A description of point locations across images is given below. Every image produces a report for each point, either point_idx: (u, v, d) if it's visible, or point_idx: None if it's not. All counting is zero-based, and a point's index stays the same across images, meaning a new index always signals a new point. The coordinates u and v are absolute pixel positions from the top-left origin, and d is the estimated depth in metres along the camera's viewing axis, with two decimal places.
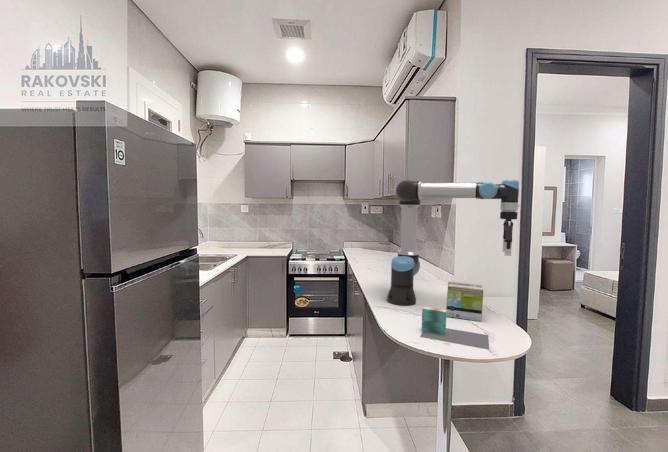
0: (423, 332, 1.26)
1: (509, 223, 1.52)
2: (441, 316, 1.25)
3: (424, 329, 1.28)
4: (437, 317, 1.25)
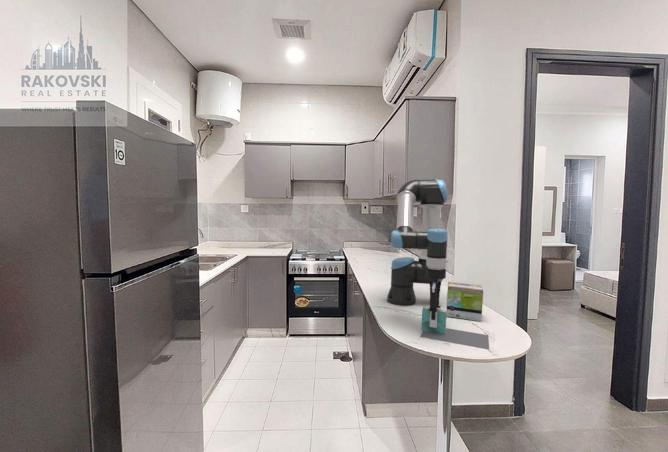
0: (423, 332, 1.26)
1: (433, 290, 1.21)
2: (441, 316, 1.25)
3: (424, 329, 1.28)
4: (437, 317, 1.25)
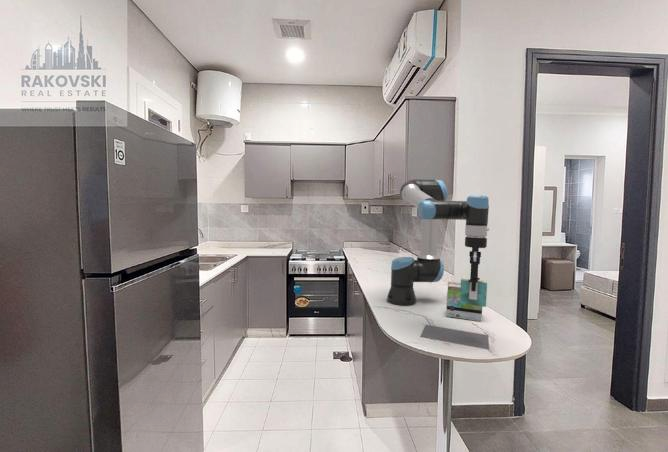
0: (423, 332, 1.26)
1: (474, 259, 1.14)
2: (482, 287, 1.18)
3: (463, 302, 1.21)
4: None
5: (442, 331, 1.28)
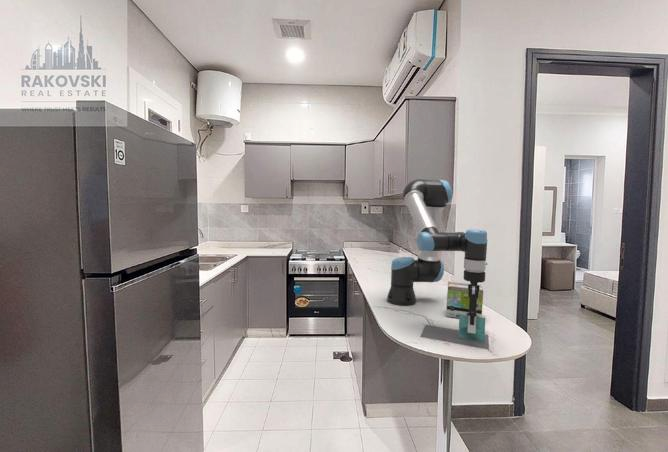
0: (423, 332, 1.26)
1: (473, 291, 1.15)
2: (480, 322, 1.19)
3: (462, 336, 1.22)
4: (476, 323, 1.20)
5: (442, 331, 1.28)
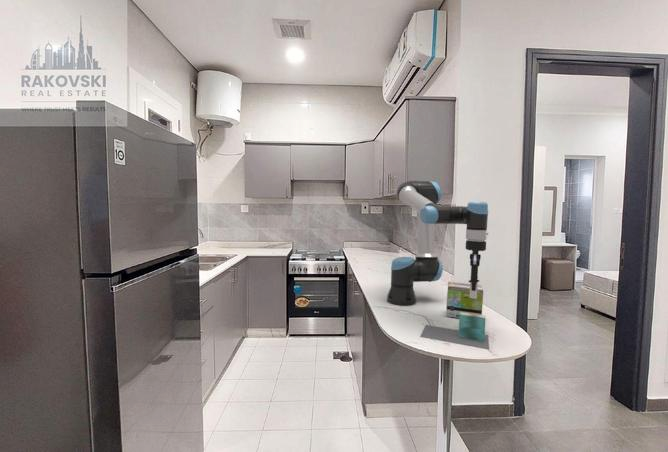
0: (423, 332, 1.26)
1: (474, 262, 1.23)
2: (480, 322, 1.19)
3: (462, 336, 1.22)
4: (476, 323, 1.20)
5: (442, 331, 1.28)
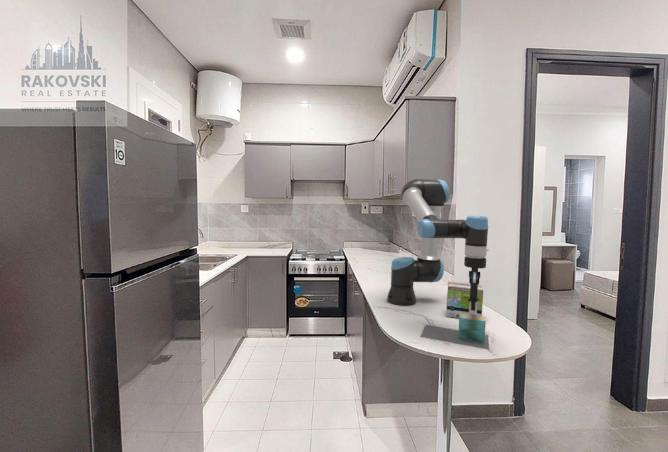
0: (423, 332, 1.26)
1: (474, 281, 1.15)
2: (480, 325, 1.17)
3: (462, 336, 1.22)
4: (476, 326, 1.18)
5: (442, 331, 1.28)
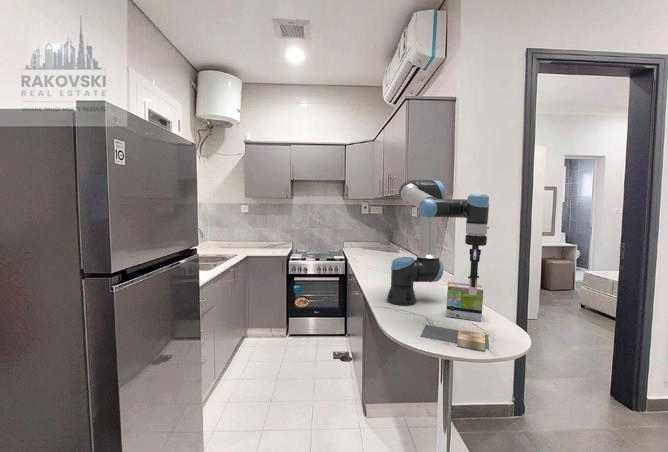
0: (423, 332, 1.26)
1: (474, 258, 1.17)
2: None
3: None
4: None
5: (442, 331, 1.28)
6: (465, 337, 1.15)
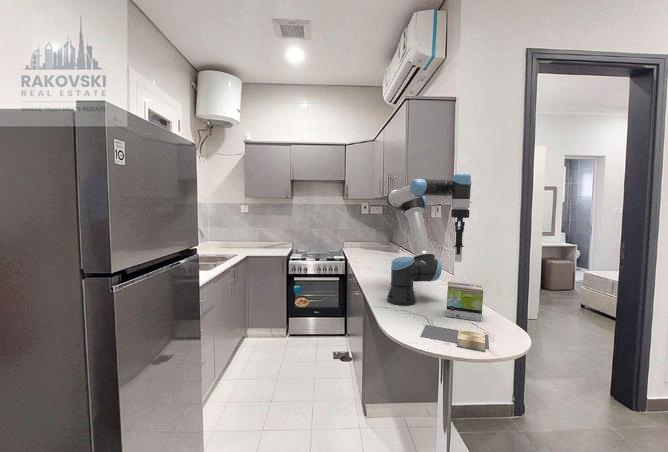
0: (423, 332, 1.26)
1: (458, 228, 1.36)
2: None
3: None
4: None
5: (442, 331, 1.28)
6: (465, 337, 1.15)
